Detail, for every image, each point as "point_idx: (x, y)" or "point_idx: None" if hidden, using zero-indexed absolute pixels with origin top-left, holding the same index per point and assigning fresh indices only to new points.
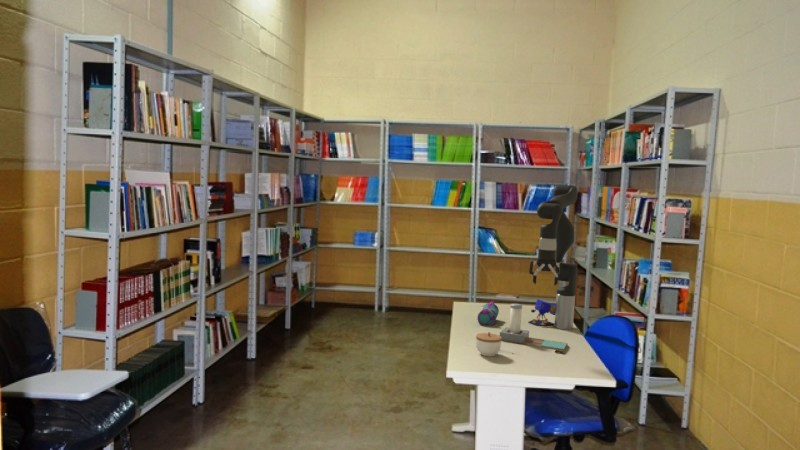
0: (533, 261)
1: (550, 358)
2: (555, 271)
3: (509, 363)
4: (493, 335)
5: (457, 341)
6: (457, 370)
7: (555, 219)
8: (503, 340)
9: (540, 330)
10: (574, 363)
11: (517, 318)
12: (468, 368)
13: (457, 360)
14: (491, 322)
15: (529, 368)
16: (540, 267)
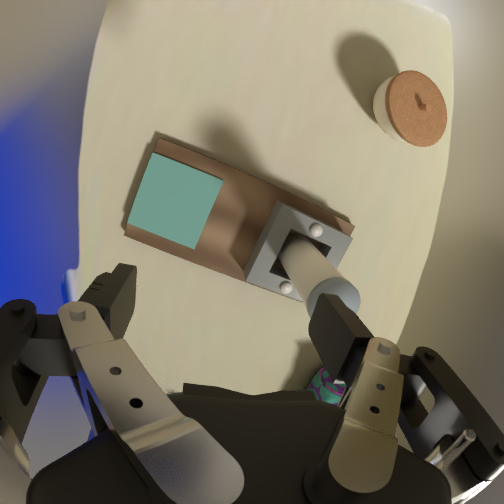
0: (475, 480)
1: (216, 82)
2: (84, 405)
3: (348, 37)
4: (410, 113)
5: (433, 221)
6: (445, 21)
7: None
8: (332, 226)
9: (185, 372)
10: (154, 51)
11: (315, 261)
12: (430, 25)
13: (448, 74)
14: (323, 373)
15: (302, 2)
16: (381, 416)
